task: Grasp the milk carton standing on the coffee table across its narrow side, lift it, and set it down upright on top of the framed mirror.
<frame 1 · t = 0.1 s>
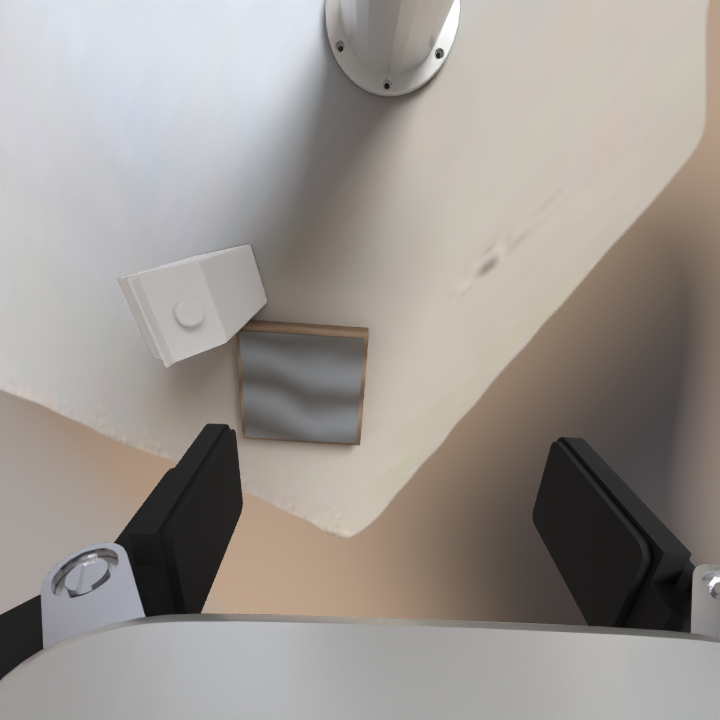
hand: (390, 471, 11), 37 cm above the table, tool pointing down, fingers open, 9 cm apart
milk carton: (232, 279, 46), on the table
framed mirror: (304, 380, 51), on the table
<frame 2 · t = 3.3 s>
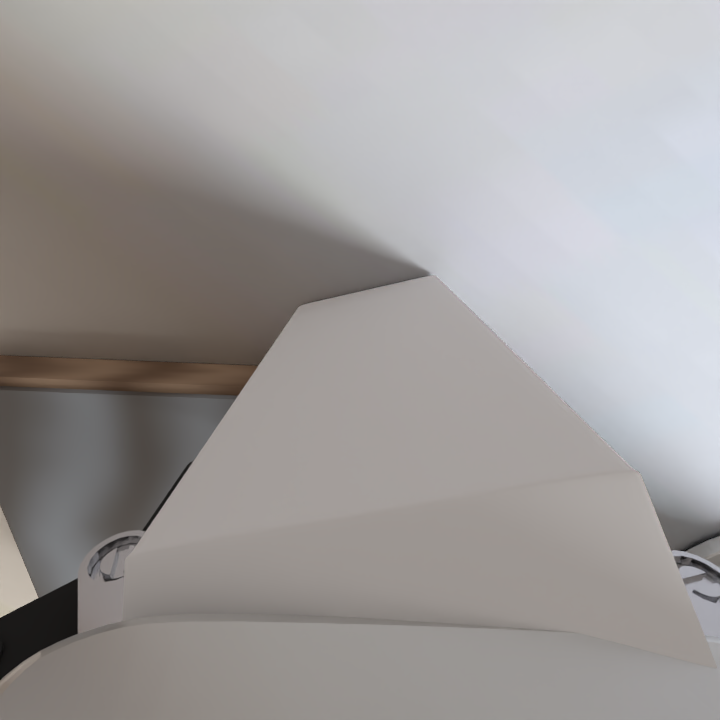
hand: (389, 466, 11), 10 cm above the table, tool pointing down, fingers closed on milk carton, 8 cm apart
milk carton: (380, 352, 20), on the table, touching gripper
framed mirror: (164, 478, 24), on the table
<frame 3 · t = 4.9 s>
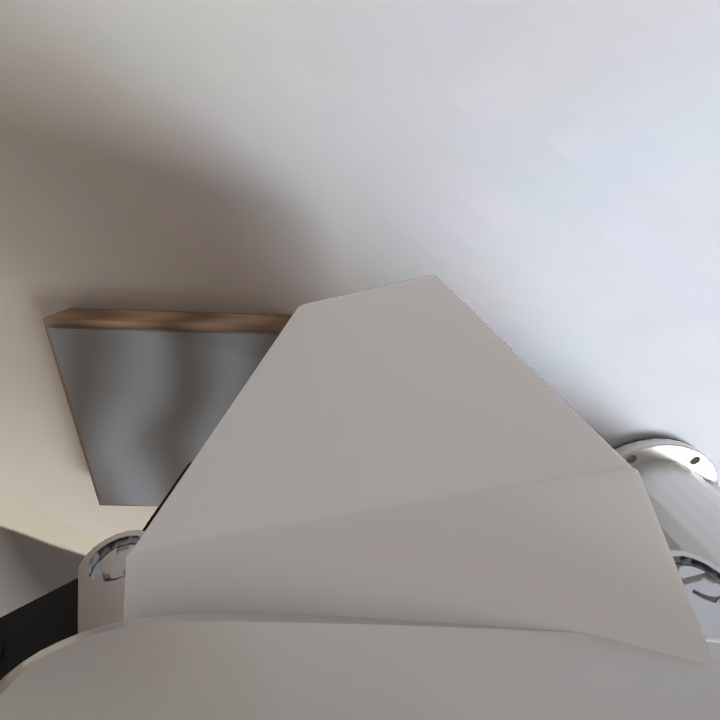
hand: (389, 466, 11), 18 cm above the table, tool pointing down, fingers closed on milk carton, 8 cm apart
milk carton: (379, 351, 20), point 8 cm above the table, touching gripper
framed mirror: (196, 407, 30), on the table
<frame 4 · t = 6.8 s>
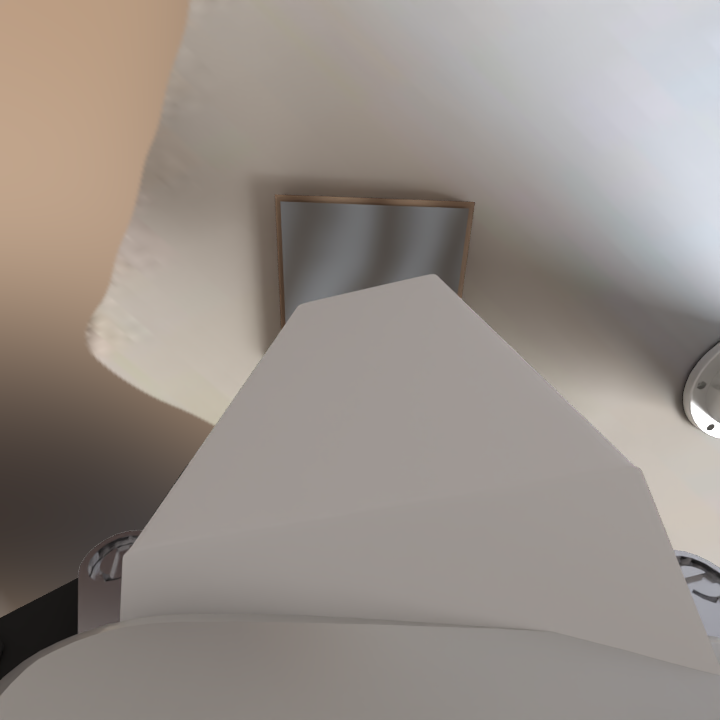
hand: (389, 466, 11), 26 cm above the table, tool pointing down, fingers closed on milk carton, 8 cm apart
milk carton: (379, 350, 20), point 16 cm above the table, touching gripper
framed mirror: (370, 291, 35), on the table
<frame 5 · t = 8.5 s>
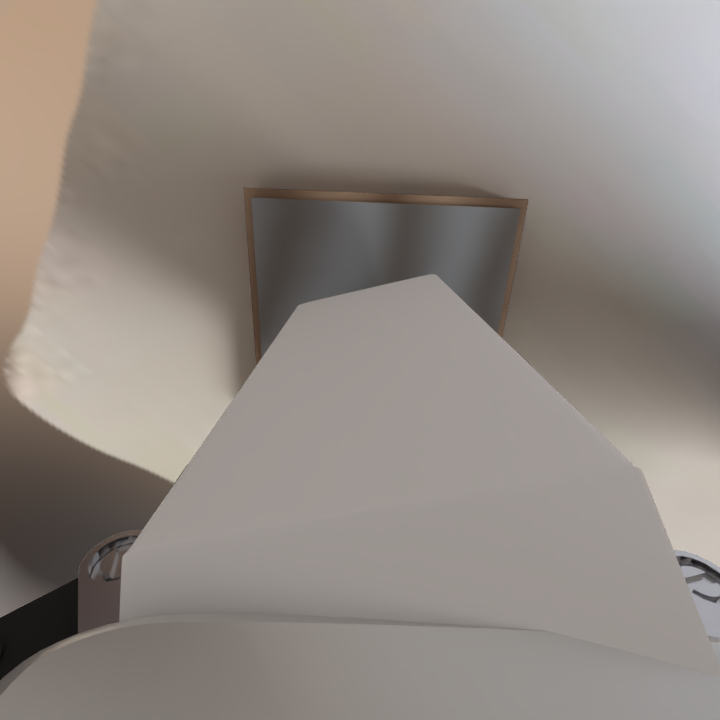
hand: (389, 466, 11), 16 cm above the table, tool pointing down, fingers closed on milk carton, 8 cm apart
milk carton: (379, 351, 20), point 7 cm above the table, touching gripper
framed mirror: (377, 318, 27), on the table
when the fingers open (13 cm above the table, at t = 10.2 s): milk carton stays where it is, resting on framed mirror.
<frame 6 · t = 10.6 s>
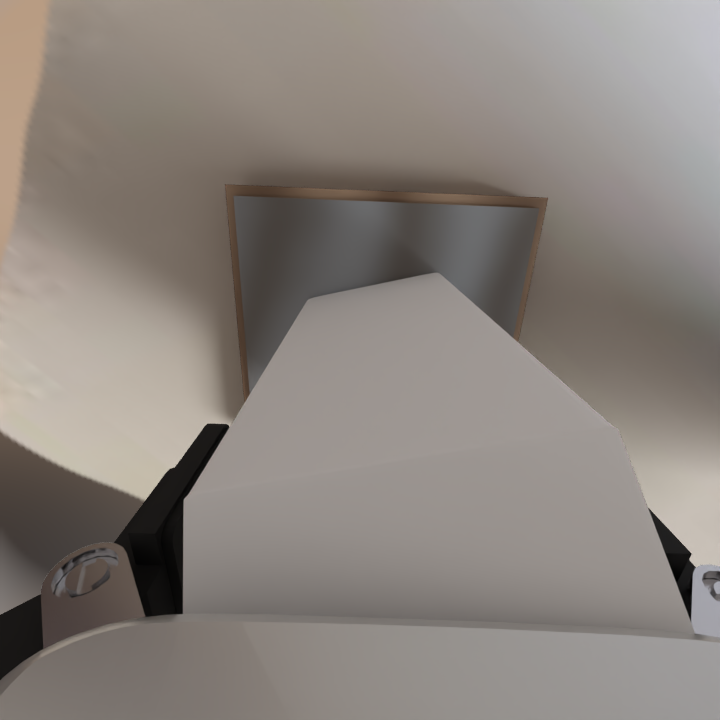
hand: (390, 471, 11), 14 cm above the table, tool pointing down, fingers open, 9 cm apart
milk carton: (383, 344, 21), point 3 cm above the table, touching framed mirror
framed mirror: (376, 329, 24), on the table
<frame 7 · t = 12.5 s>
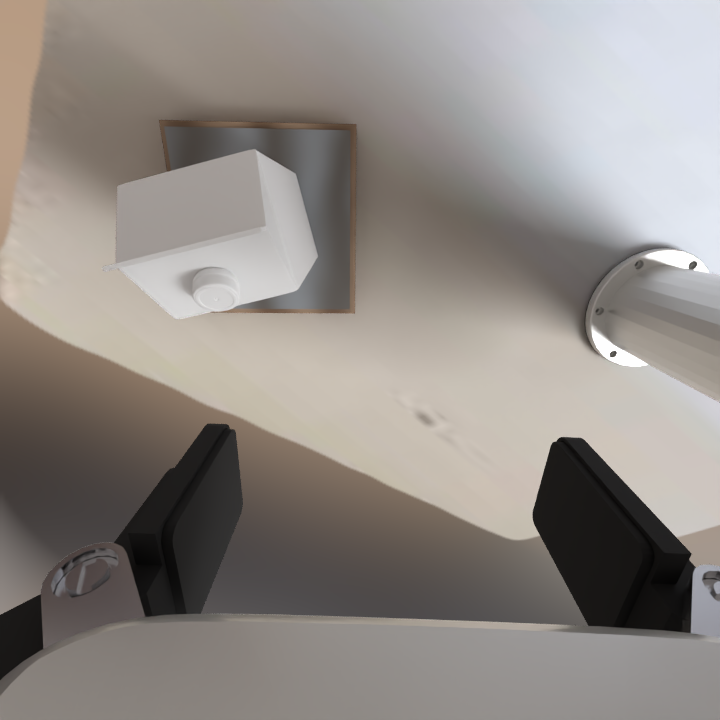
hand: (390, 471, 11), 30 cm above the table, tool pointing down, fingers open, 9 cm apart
milk carton: (269, 226, 34), point 3 cm above the table, touching framed mirror
framed mirror: (271, 224, 36), on the table
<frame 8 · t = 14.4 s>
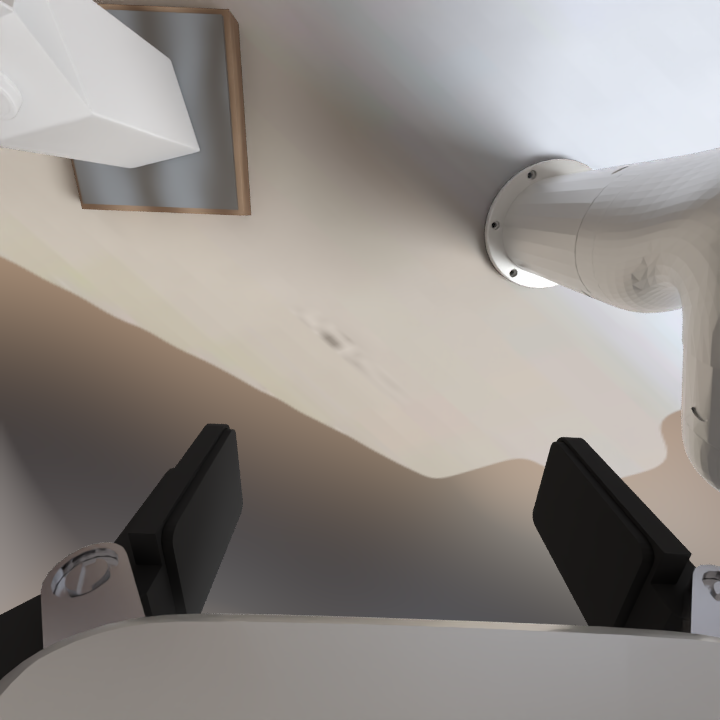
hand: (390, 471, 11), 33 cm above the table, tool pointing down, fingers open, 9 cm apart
milk carton: (151, 117, 34), point 3 cm above the table, touching framed mirror
framed mirror: (163, 123, 37), on the table
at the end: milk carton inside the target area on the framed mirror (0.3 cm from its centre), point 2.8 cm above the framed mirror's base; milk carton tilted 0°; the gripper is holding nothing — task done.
